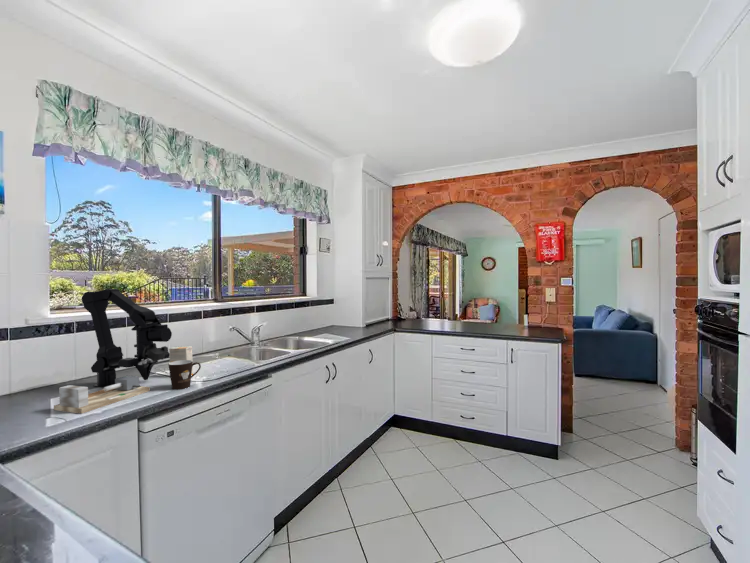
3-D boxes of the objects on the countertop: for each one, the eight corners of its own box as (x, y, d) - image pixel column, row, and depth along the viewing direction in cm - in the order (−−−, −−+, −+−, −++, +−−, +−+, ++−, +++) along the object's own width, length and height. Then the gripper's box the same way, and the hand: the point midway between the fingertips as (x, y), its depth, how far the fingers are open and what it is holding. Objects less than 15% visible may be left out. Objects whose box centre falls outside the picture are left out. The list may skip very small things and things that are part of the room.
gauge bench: (53, 410, 124) (53, 387, 124) (124, 388, 148) (124, 369, 148) (81, 413, 120) (81, 390, 120) (149, 390, 144) (149, 371, 144)
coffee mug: (168, 391, 142) (167, 365, 142) (169, 386, 150) (168, 361, 150) (202, 387, 147) (201, 362, 147) (201, 382, 155) (200, 358, 155)
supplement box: (193, 374, 167) (192, 346, 167) (187, 377, 163) (186, 348, 162) (176, 374, 168) (175, 346, 168) (169, 377, 163) (168, 348, 163)
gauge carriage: (99, 394, 135) (98, 383, 135) (127, 385, 145) (127, 375, 145) (118, 396, 132) (117, 384, 132) (145, 387, 142) (145, 376, 142)
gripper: (139, 346, 138) (140, 387, 138) (179, 338, 156) (180, 375, 156) (116, 345, 141) (117, 385, 142) (158, 337, 159) (159, 373, 159)
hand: (145, 379), depth 149 cm, fingers closed
